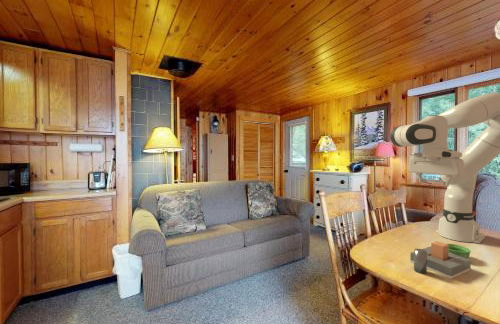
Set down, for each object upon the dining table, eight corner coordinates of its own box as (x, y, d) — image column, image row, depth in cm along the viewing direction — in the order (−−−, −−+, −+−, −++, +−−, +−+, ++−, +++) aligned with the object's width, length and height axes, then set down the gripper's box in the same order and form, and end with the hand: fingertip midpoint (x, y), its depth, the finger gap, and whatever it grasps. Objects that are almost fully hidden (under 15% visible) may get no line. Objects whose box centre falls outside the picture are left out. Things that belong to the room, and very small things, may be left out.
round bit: (417, 267, 93) (418, 247, 92) (429, 272, 89) (429, 251, 89) (411, 270, 91) (412, 249, 91) (422, 274, 87) (423, 254, 87)
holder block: (429, 255, 103) (430, 246, 103) (470, 270, 90) (470, 259, 90) (410, 262, 97) (410, 252, 97) (450, 278, 84) (451, 268, 84)
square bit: (436, 260, 96) (437, 241, 96) (447, 264, 93) (448, 244, 92) (430, 262, 95) (431, 243, 94) (442, 266, 91) (442, 246, 91)
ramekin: (444, 251, 107) (445, 241, 107) (471, 257, 101) (472, 247, 100) (440, 257, 102) (440, 247, 101) (468, 264, 95) (469, 254, 95)
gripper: (405, 152, 111) (404, 181, 112) (459, 153, 92) (457, 188, 93) (413, 152, 114) (413, 181, 114) (467, 153, 95) (465, 187, 96)
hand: (433, 184), depth 104 cm, fingers open, 8 cm apart
